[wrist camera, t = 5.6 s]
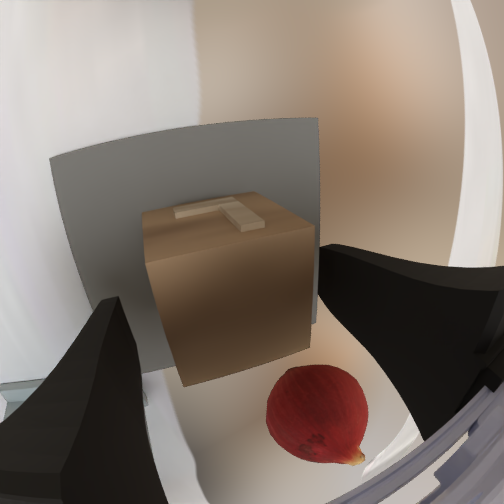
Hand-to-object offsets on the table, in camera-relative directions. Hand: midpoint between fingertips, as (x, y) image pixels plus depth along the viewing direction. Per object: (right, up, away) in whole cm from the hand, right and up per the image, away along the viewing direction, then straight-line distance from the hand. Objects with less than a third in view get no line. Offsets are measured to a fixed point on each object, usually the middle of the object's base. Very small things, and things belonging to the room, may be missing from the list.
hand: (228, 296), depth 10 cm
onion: (+3, -6, +8) cm, 11 cm away
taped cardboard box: (-1, +1, +2) cm, 3 cm away
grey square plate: (-1, +1, +3) cm, 3 cm away
